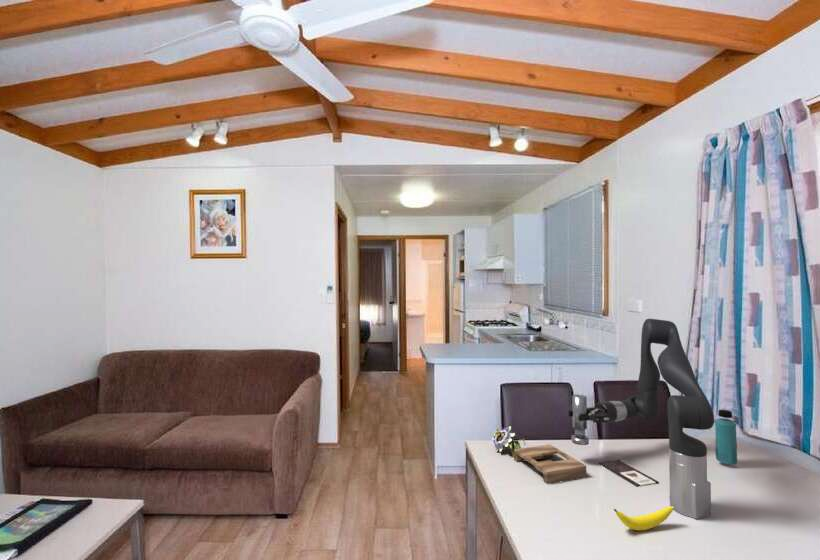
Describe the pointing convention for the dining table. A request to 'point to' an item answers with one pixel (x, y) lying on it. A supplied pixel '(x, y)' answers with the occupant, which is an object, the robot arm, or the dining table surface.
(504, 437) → the passion flower
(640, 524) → the banana
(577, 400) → the keyhole post
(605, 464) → the chocolate bar
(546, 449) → the keyhole plate
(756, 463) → the dining table surface
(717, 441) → the beverage bottle
